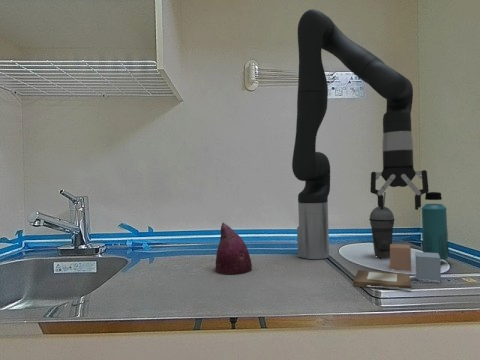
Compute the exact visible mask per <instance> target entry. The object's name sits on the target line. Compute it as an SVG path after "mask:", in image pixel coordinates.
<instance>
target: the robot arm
mask: <svg viewBox="0 0 480 360" xmlns="http://www.w3.org/2000/svg"><path fill="white" fill-rule="evenodd" d="M297 47H298V76H297V77H298V80H297V81H298V83H297V84H298V85H297V99H296V100H297V101H296V125H295V126H296V127H295V138H294V146H293V154H292V161H291V168H292V170H291V171H292V173H293V175H294V177H295V178H296V179H297V180H299V181H302V182H304V183H305V184H304V188H303V189H302V190H301V191H300V192H299V193H298V195H297V206H298V208H297V210H298V211H297V212H298V213H297V214H298V226H297V227H296V232H297V233H296V234H297V235H296V236H297V238H296V239H297V258H303V259H308V260H323V259H328V258H330V237H329V236H330V235H329V232H330V231H329V203H328V201H329V195H330V191H331V163H330V160H329V157H328V156H327V155H326V154H325V153H324V152H320V151H316V149H317V148H316V146H317V145H316V144H317V135H318V131H319V129H320V127H321V124H322V122H323V120H324V119H325V116H326V113H327V110H328V109H327V108H328V101H329V99H328V97H329V87H328V80H327V76H326V73H325V68H324V65H323V59H322V50H324V51H326V52H328V53H329V54H331V55H333V56H334V57H336V59H338V60H339V61H340V62H341V63H342V64H343V65H344V66H345V67H346V68H347V69H348V70H349V71H350V72H351V73H353V74H354V75H355V76H356V77H358V78H359V79H360V80H361V81H363V82H364V83H366V85H367V84H368V85H369V86H370V87H371V88H372V89H373V90H374V91H375V92H376V93H377V94H378V95H379V96H381V97H382V98H384V99H385V100H386V111H385V113H384V114H383V116H382V117H383V118H382V141H381V143H382V145H381V148H382V171H381V172H380V171H379V172H377V171H372V172H370V190H369V191H370V193H371V194H373V195H376V196H377V207H381V209H384V207H385V206H384V205H383V198H384V192H386V190H387V189H388V188H389V187H392V188H396V187H402V188H404V187H407V186H408V187H409V188H410V189H411V190H412V191H413V193H414V194H415V195H414V210H415V211H418V210H419V208H422V207H421V206H422V195H425V194H426V193H428V192H430V191H429V180H428V171H427V170H425V169H422V170H415V168H414V145H413V144H414V143H413V141H414V140H413V134H412V133H413V132H412V117H411V116H412V108H413V107H412V106H413V102H414V101H413V99H414V97H413V96H414V90H413V89H414V88H413V84H412V82H411V81H410V80H409V79H408V78H407V77H406V76H404V75H402V74H401V73H400V72H398V71H397V70H395V69H394V68H392V67H390V66H388V65H387V64H386V63H385V62H384V61H383V60H382V59H381V58H379V57H378V56H376V55H375V54H374V53H372V52H371V51H369V49H367V48H365V47H363V46H361V45H360V44H358V43H356V42H355V41H354V40H352V39H351V38H349V37H348V36H347V35H346V34H345V33H344V32H343V31H342V30H341V29H340V28H339V27H338V26H337V25H336V24H335V23H334V21H333V20H332V18H330V17H329V16H328V15H326V14H325V13H323V12H322V11H320V10H317V9H315V8H310V9H307V10H306V11H304V12H303V14H302V15H301V16H300V18H299V21H298V24H297ZM416 175H417V177H418V179H420V180H421V185H422V188H421V189H419V188H418V187H417V186H416V185H415V183H413V182H412V181H413V180H414V178H415V177H416ZM380 177H382V178H383V180H384V181H385V182H384V184H383V185H382V186H381V187H380V189H379V190H378V189H376V188H377V187H376V186H377V185H376V184H377V181H378V180H379V179H380Z"/></svg>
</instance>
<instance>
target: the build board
mask: <svg viewBox="0 0 480 360" xmlns="http://www.w3.org/2000/svg"><path fill="white" fill-rule="evenodd" d="M367 285H371V286H383V287H399V288H411V287H412V285H411V274H410V273H401V272H391V271H390V272H389V271H388V272H387V271H374V270H364V269H363V270H361V269H357V272H356V274H355V276H354V278H353V284H352V286H353V287H359V288H367V287H366V286H367ZM411 289H412V288H411Z"/></svg>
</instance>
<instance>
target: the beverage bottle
mask: <svg viewBox="0 0 480 360" xmlns="http://www.w3.org/2000/svg"><path fill="white" fill-rule="evenodd" d="M424 195H425V197H424V199H425V200H426V201H441V200H442V199H443V198H442V192H439V191H428V193H425V194H424ZM447 216H448V215H447V207H446V206H445V205H444V204H443V203H426V204H424V205H422V207H421V220H422V221H421V224H422V225H421V233H422V241H421V243H422V252H426V253H438V254H439V256H440V261H442V260H447V259H448V258H449V255H450V254H449V250H450V249H449V248H450V246H449V241H448V240H449V232H448V219H447V218H448V217H447Z"/></svg>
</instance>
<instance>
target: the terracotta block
mask: <svg viewBox="0 0 480 360" xmlns="http://www.w3.org/2000/svg"><path fill="white" fill-rule="evenodd" d="M389 262H390V263H389V264H390V267H389V268H390V270H391V269H394V270H393V271H402V270H404V271H403V272H411V271H412V249H411V244H400V243H399V244H398V243H392V244H390V258H389Z"/></svg>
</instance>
